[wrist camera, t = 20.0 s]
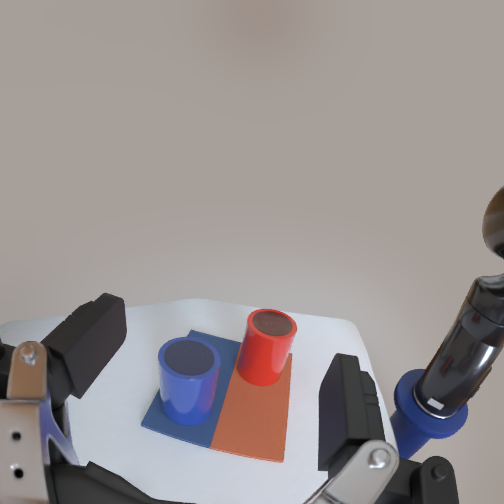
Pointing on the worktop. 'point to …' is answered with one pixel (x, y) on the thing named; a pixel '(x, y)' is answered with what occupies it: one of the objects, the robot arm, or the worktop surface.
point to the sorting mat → (235, 410)
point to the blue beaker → (188, 379)
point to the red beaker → (266, 346)
